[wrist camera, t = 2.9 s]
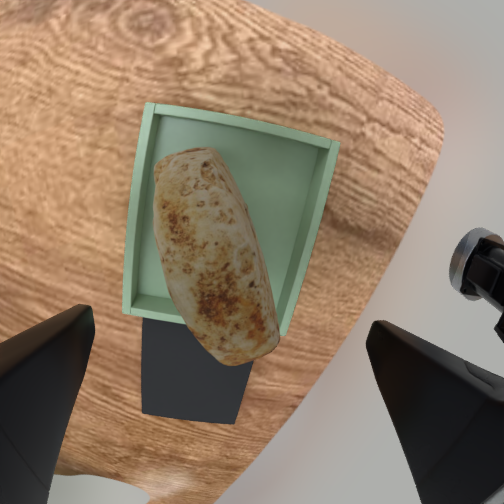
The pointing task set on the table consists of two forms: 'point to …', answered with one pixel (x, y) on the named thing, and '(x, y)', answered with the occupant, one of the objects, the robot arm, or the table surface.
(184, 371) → the mat
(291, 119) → the table surface
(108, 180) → the table surface
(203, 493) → the table surface
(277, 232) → the tray
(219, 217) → the beige oval piece
